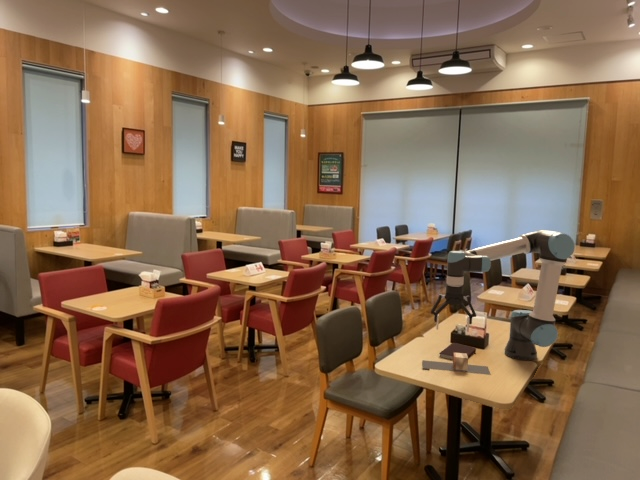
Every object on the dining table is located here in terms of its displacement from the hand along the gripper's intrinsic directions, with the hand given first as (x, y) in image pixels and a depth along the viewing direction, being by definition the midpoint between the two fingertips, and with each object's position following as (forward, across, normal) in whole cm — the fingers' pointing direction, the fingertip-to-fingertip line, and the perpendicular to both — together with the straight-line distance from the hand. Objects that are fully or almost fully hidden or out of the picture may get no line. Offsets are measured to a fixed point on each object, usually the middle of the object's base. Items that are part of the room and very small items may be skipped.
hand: (452, 329), depth 220 cm
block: (+15, -7, 0) cm, 17 cm away
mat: (+18, -2, 0) cm, 19 cm away
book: (+19, -5, -18) cm, 27 cm away
